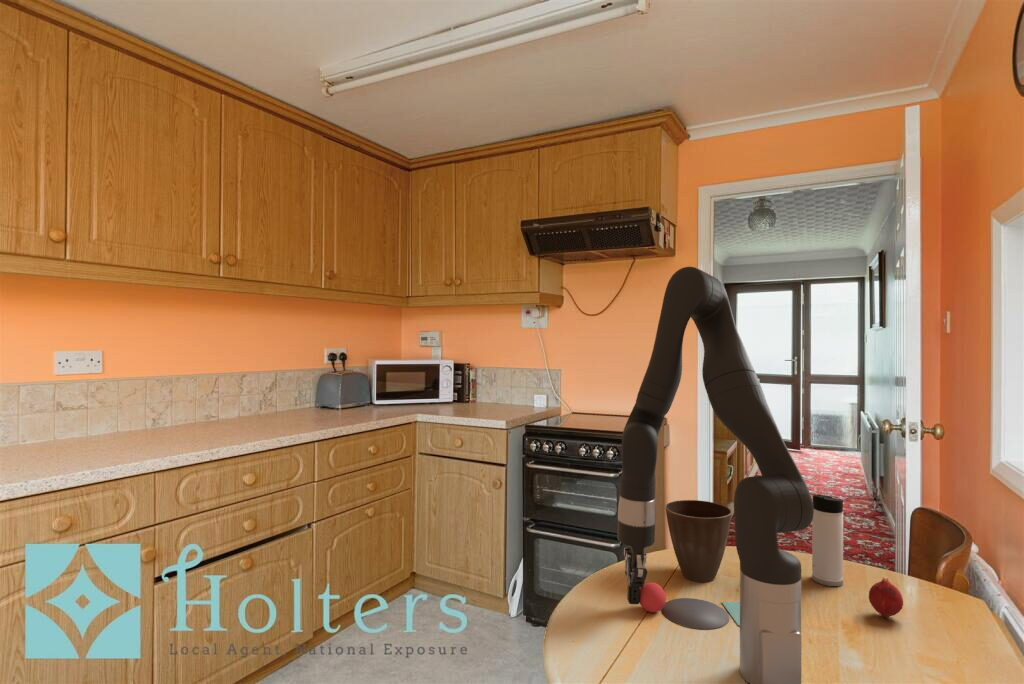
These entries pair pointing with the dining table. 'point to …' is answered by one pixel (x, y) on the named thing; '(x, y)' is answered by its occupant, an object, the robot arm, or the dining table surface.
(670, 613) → the disc
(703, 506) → the plant pot
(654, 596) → the ball
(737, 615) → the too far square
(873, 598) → the onion
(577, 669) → the dining table surface
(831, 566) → the travel mug
